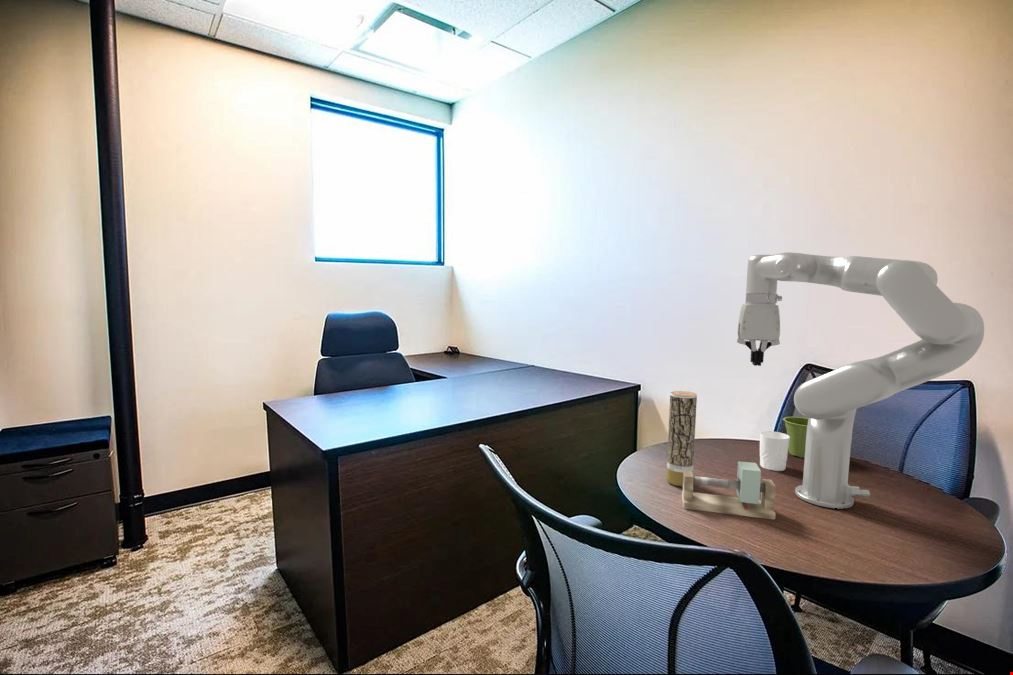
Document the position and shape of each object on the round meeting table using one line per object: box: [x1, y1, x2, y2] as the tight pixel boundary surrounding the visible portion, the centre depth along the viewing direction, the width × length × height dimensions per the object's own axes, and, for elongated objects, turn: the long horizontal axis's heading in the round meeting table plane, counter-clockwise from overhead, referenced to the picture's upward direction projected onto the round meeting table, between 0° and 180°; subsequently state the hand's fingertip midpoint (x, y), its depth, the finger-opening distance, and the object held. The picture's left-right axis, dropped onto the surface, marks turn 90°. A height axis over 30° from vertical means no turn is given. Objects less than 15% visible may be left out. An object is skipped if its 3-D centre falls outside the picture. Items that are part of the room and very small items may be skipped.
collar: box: [735, 460, 762, 504], centre depth 117 cm, size 4×6×8 cm
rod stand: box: [681, 471, 776, 520], centre depth 119 cm, size 20×7×8 cm, turn 74°
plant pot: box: [782, 416, 809, 459], centre depth 157 cm, size 12×12×11 cm
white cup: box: [759, 430, 790, 472], centre depth 146 cm, size 8×8×10 cm
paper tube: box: [666, 390, 698, 488], centre depth 133 cm, size 7×7×25 cm
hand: (756, 364), depth 137 cm, fingers closed
